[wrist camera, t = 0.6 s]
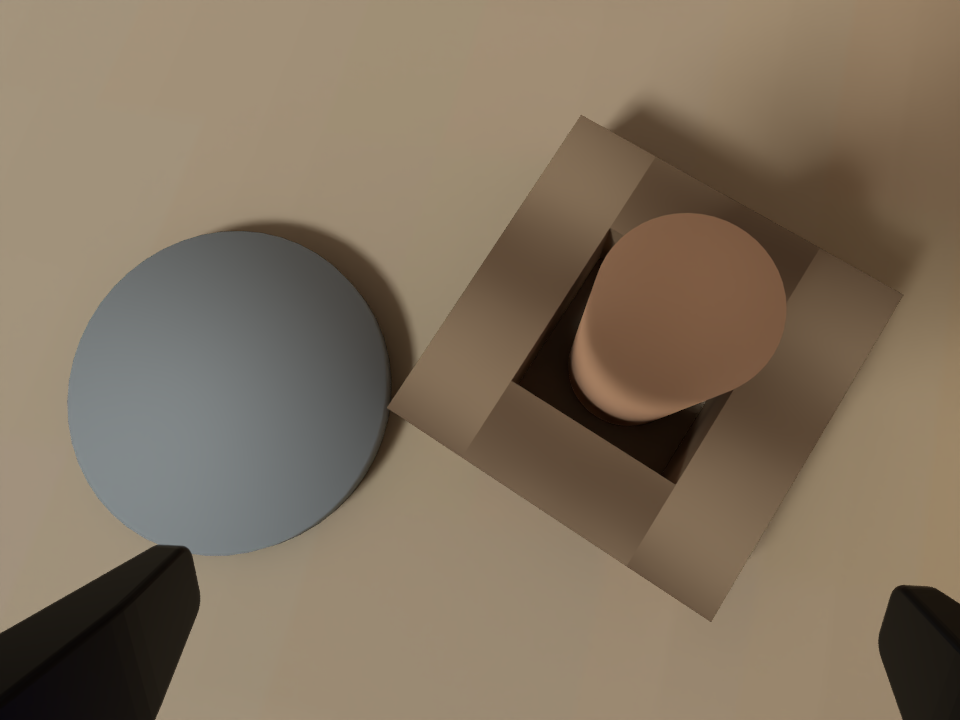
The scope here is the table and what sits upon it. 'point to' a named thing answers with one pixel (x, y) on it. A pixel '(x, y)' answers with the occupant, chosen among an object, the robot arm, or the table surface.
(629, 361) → the post
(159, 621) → the robot arm
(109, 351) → the slate mat
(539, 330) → the pocket block
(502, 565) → the table surface
